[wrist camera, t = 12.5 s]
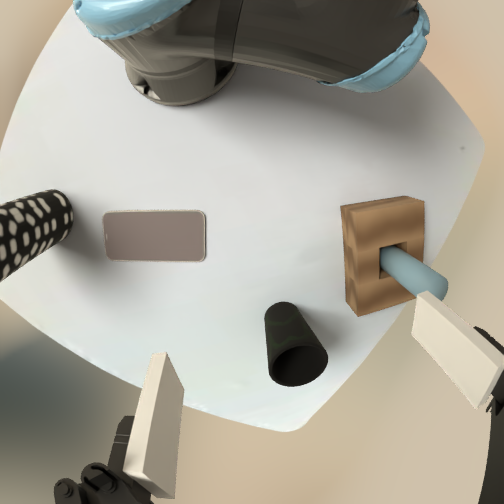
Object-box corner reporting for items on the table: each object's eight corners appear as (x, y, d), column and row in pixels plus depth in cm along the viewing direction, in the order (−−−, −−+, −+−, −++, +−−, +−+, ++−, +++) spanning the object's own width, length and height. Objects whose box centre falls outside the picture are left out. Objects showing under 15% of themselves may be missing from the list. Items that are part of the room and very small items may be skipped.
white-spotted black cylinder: (33, 190, 32) (-58, 222, 14) (71, 188, 33) (-24, 220, 15) (37, 240, 35) (-43, 293, 16) (75, 242, 36) (-6, 303, 17)
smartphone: (204, 262, 39) (106, 261, 37) (205, 260, 40) (108, 258, 38) (204, 210, 36) (101, 211, 34) (205, 208, 37) (103, 210, 35)
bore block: (340, 205, 38) (355, 212, 33) (405, 195, 39) (424, 201, 34) (345, 301, 44) (357, 316, 39) (404, 284, 44) (419, 296, 39)
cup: (299, 289, 42) (324, 334, 31) (308, 327, 45) (331, 375, 33) (251, 304, 42) (261, 354, 31) (264, 341, 45) (276, 393, 33)
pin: (370, 243, 39) (426, 281, 26) (392, 238, 39) (450, 273, 26) (371, 267, 40) (422, 311, 27) (391, 261, 40) (445, 302, 27)
